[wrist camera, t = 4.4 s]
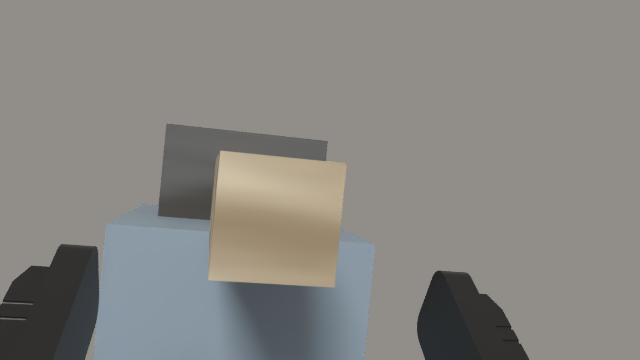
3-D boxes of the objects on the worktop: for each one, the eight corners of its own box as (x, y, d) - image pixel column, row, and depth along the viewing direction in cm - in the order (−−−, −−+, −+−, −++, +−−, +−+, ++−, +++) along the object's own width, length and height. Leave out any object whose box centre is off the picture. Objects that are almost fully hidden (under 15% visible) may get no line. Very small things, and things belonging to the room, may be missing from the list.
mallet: (432, 293, 14) (449, 113, 14) (93, 273, 12) (112, 71, 12) (300, 218, 35) (307, 145, 35) (167, 207, 33) (174, 131, 33)
